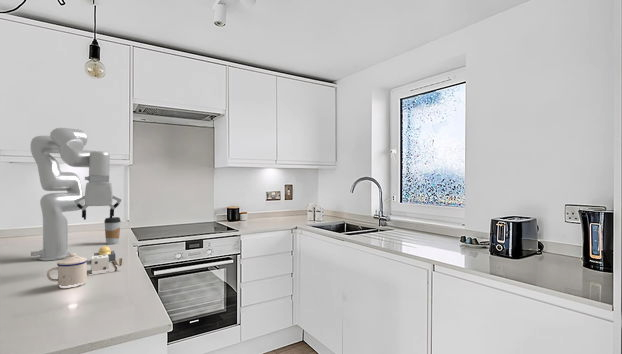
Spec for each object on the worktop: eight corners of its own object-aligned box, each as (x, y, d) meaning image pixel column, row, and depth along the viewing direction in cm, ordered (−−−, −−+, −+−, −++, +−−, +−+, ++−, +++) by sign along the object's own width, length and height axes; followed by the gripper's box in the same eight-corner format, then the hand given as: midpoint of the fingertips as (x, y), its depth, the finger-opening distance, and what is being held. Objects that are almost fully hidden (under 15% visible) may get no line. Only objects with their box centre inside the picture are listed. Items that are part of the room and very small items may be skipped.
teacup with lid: (86, 279, 128) (86, 249, 128) (88, 285, 121) (88, 254, 121) (46, 285, 121) (46, 254, 121) (46, 292, 114) (46, 259, 114)
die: (91, 273, 136) (91, 259, 136) (91, 270, 141) (91, 256, 141) (108, 271, 140) (108, 257, 139) (107, 268, 144) (107, 254, 144)
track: (75, 277, 130) (75, 270, 130) (74, 266, 146) (74, 260, 146) (125, 270, 141) (125, 263, 141) (119, 260, 156) (119, 254, 156)
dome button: (98, 261, 153) (98, 248, 153) (98, 259, 157) (98, 246, 157) (111, 260, 156) (111, 246, 155) (110, 258, 160) (110, 244, 160)
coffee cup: (115, 245, 190) (115, 219, 190) (100, 244, 190) (100, 219, 190) (123, 242, 198) (123, 217, 198) (110, 241, 198) (110, 217, 198)
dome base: (95, 263, 150) (95, 256, 150) (94, 260, 157) (94, 252, 157) (115, 261, 155) (115, 254, 155) (113, 257, 162) (113, 250, 162)
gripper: (74, 179, 135) (73, 221, 136) (122, 180, 145) (121, 218, 146) (74, 178, 141) (73, 218, 142) (120, 179, 151) (119, 216, 152)
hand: (98, 218), depth 144 cm, fingers open, 9 cm apart
